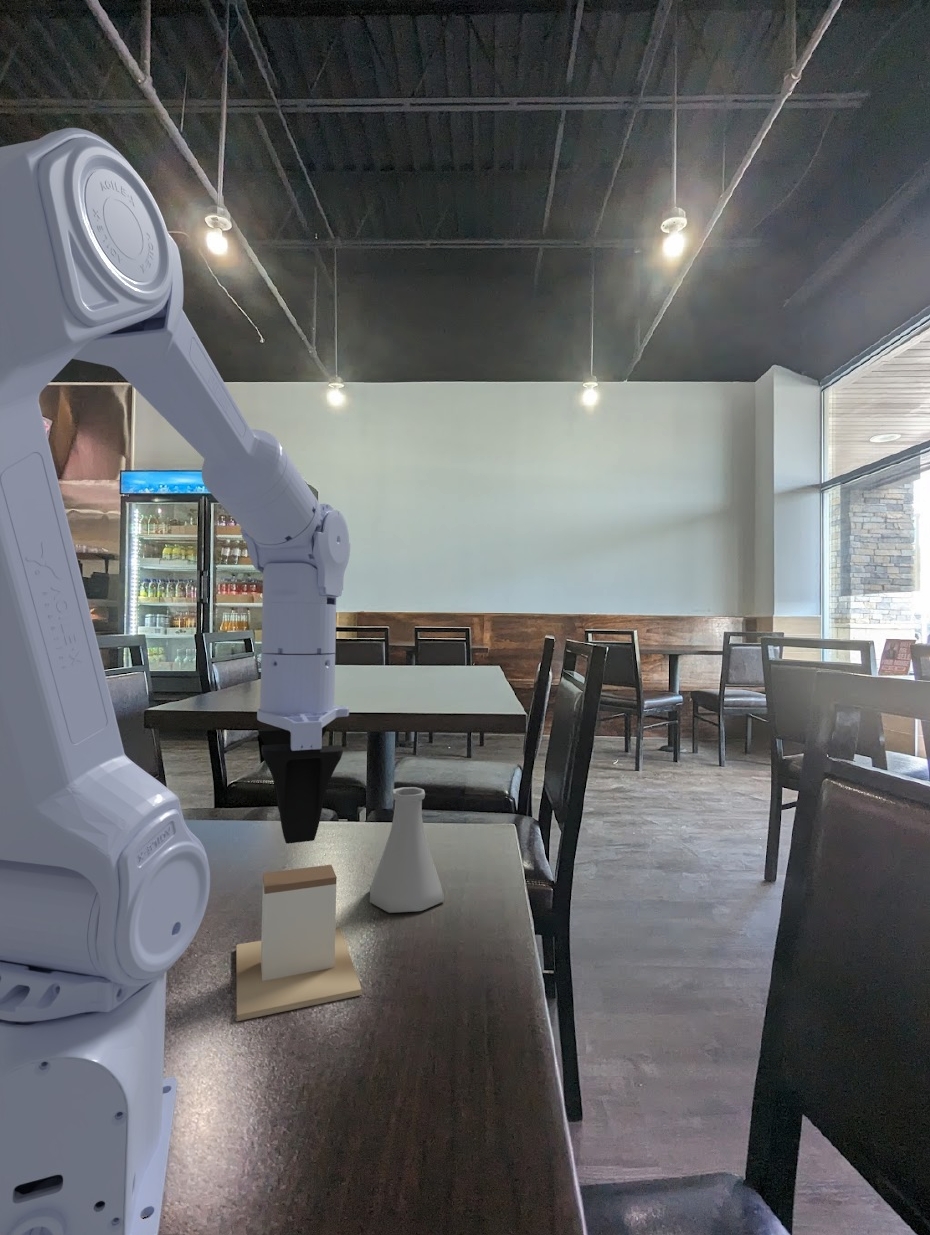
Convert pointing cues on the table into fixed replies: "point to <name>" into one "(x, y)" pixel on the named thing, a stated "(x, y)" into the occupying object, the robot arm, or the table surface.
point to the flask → (406, 860)
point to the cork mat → (291, 983)
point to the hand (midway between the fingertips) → (295, 824)
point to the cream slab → (298, 921)
